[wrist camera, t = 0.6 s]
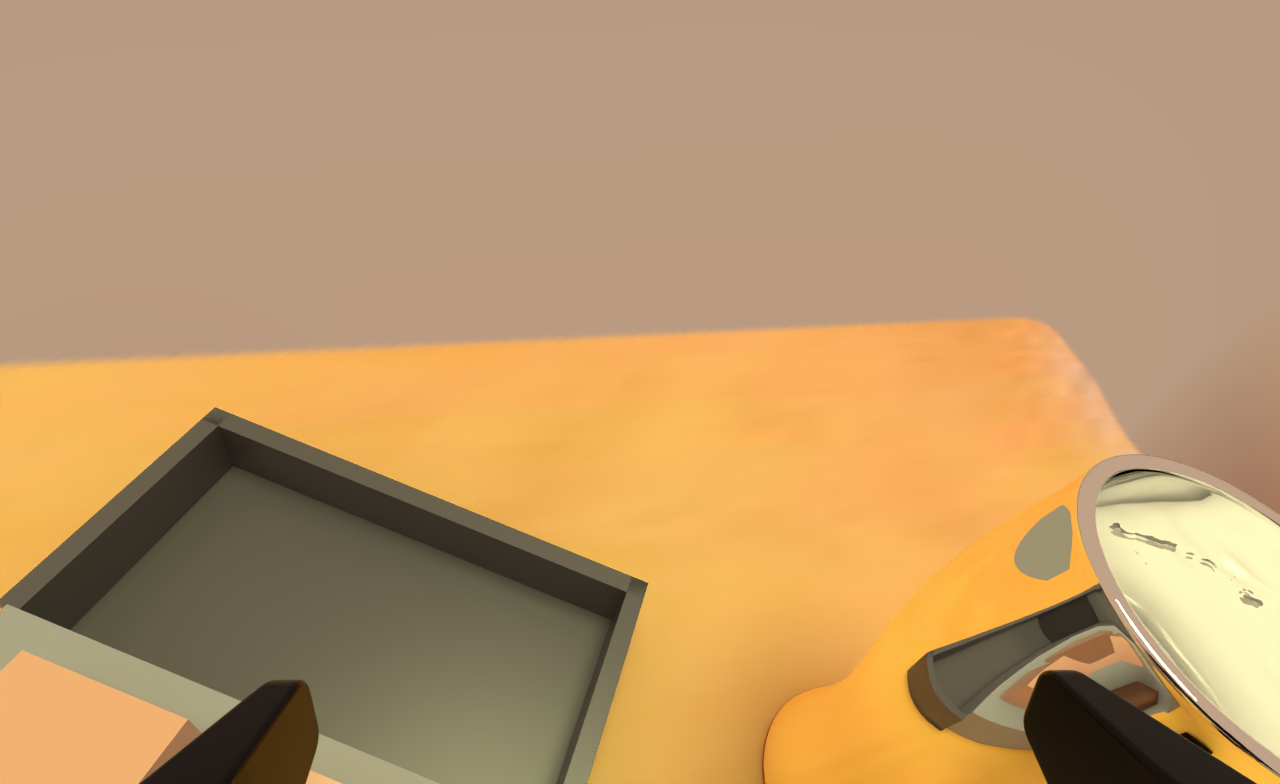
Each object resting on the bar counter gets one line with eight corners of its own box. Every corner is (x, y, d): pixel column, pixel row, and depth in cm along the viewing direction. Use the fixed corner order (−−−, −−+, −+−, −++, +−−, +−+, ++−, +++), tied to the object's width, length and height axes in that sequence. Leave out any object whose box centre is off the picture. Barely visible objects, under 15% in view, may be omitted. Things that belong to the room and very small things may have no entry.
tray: (551, 855, 18) (569, 841, 16) (44, 645, 18) (-5, 603, 16) (627, 618, 23) (648, 583, 21) (233, 457, 24) (214, 407, 22)
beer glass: (709, 779, 20) (1022, 579, 10) (814, 640, 25) (1112, 395, 14) (885, 980, 18) (1549, 1005, 7) (967, 788, 22) (1463, 628, 12)
